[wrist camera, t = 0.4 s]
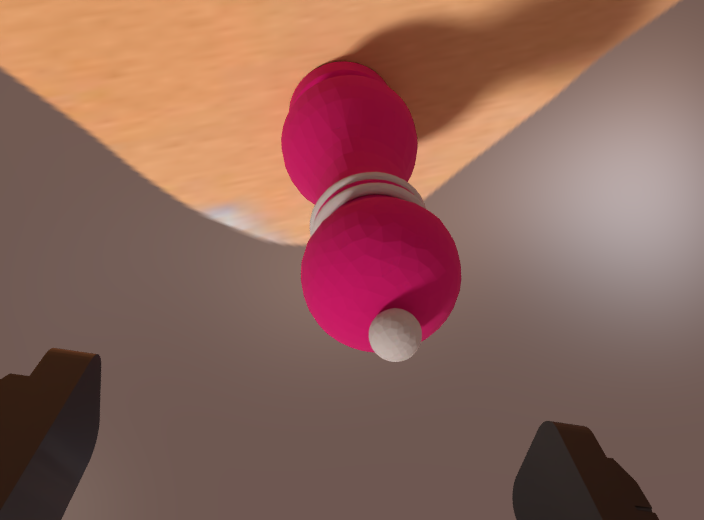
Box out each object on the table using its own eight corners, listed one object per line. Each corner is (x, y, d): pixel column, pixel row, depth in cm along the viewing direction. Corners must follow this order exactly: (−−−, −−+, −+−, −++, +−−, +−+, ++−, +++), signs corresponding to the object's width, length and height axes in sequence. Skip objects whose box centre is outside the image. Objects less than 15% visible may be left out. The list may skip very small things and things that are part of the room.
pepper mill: (313, 28, 32) (353, 228, 16) (424, 85, 34) (556, 308, 18) (261, 140, 35) (250, 397, 19) (365, 184, 38) (432, 444, 22)
